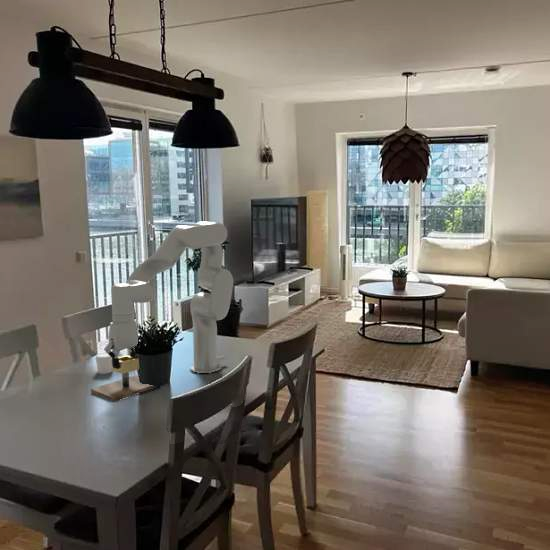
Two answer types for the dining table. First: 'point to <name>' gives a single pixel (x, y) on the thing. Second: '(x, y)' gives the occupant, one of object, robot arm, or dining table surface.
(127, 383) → the post
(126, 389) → the keeper board
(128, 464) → the dining table surface
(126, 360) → the brass link
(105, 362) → the white tapered cup
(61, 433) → the dining table surface
